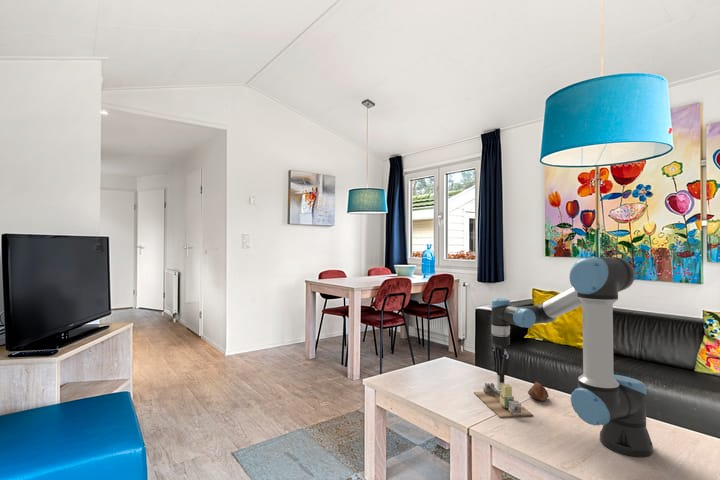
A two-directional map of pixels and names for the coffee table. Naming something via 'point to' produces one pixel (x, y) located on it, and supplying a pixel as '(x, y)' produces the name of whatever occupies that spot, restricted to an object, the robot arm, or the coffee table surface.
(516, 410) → the brown flat board
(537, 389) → the fossil
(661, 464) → the coffee table surface
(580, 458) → the coffee table surface
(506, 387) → the yellow sliding block
